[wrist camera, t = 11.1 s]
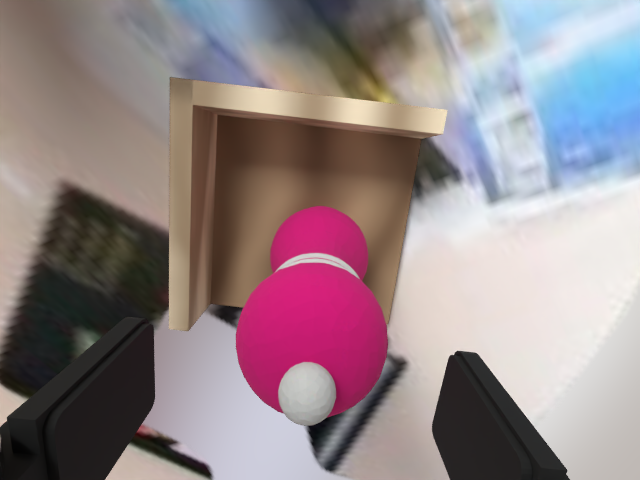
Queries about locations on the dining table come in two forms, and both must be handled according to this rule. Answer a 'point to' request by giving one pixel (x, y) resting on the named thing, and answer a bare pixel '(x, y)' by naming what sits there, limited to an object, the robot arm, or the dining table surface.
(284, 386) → the pepper mill
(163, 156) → the dining table surface
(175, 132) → the corner fence
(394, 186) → the board
